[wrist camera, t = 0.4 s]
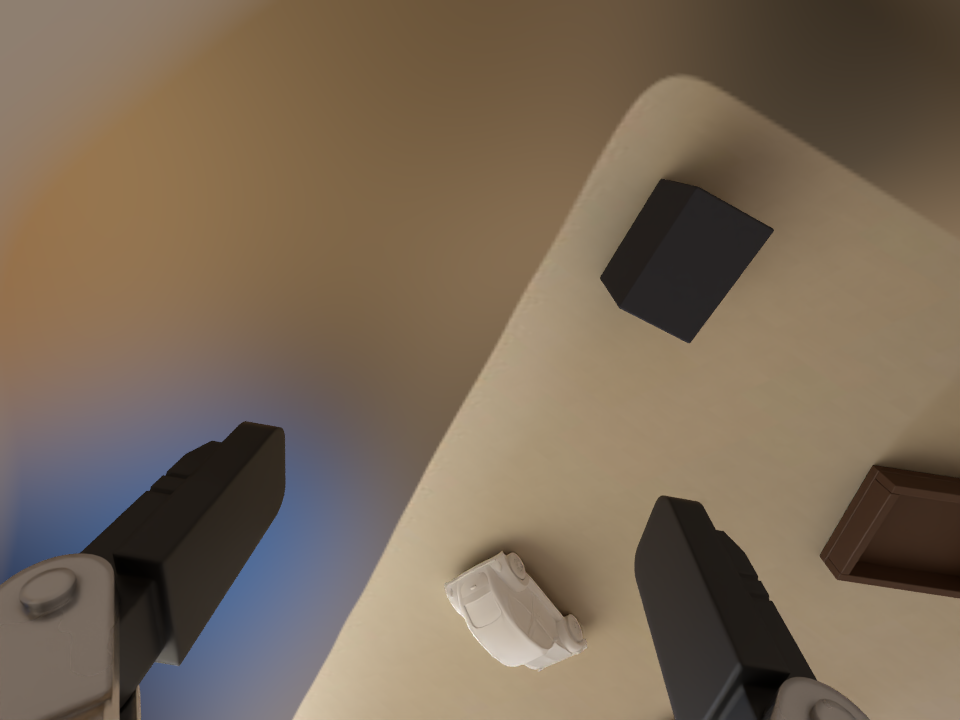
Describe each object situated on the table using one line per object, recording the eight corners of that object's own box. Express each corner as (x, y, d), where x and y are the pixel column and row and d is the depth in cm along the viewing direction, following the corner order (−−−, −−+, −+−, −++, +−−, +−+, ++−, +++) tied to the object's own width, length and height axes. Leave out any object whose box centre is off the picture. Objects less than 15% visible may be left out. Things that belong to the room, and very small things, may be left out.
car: (440, 572, 38) (431, 626, 33) (502, 537, 36) (500, 589, 32) (533, 655, 41) (535, 714, 37) (593, 627, 39) (603, 685, 35)
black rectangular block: (599, 278, 27) (618, 307, 22) (660, 178, 25) (697, 185, 20) (658, 308, 28) (690, 344, 23) (724, 213, 25) (775, 229, 20)
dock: (872, 464, 31) (896, 485, 29) (1027, 488, 31) (1061, 510, 29) (818, 556, 35) (836, 580, 33) (958, 577, 34) (984, 602, 33)
